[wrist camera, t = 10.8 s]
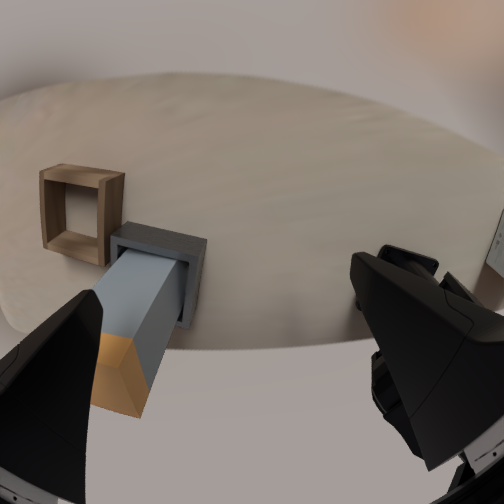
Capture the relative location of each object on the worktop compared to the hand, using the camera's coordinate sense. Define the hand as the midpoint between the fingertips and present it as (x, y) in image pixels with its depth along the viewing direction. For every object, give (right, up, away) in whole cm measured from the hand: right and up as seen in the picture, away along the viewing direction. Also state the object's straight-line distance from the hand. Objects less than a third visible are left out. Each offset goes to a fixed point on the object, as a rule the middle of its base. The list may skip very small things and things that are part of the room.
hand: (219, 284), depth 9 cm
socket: (-7, 0, +14) cm, 16 cm away
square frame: (-13, +5, +12) cm, 18 cm away
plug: (-7, 0, +14) cm, 16 cm away
